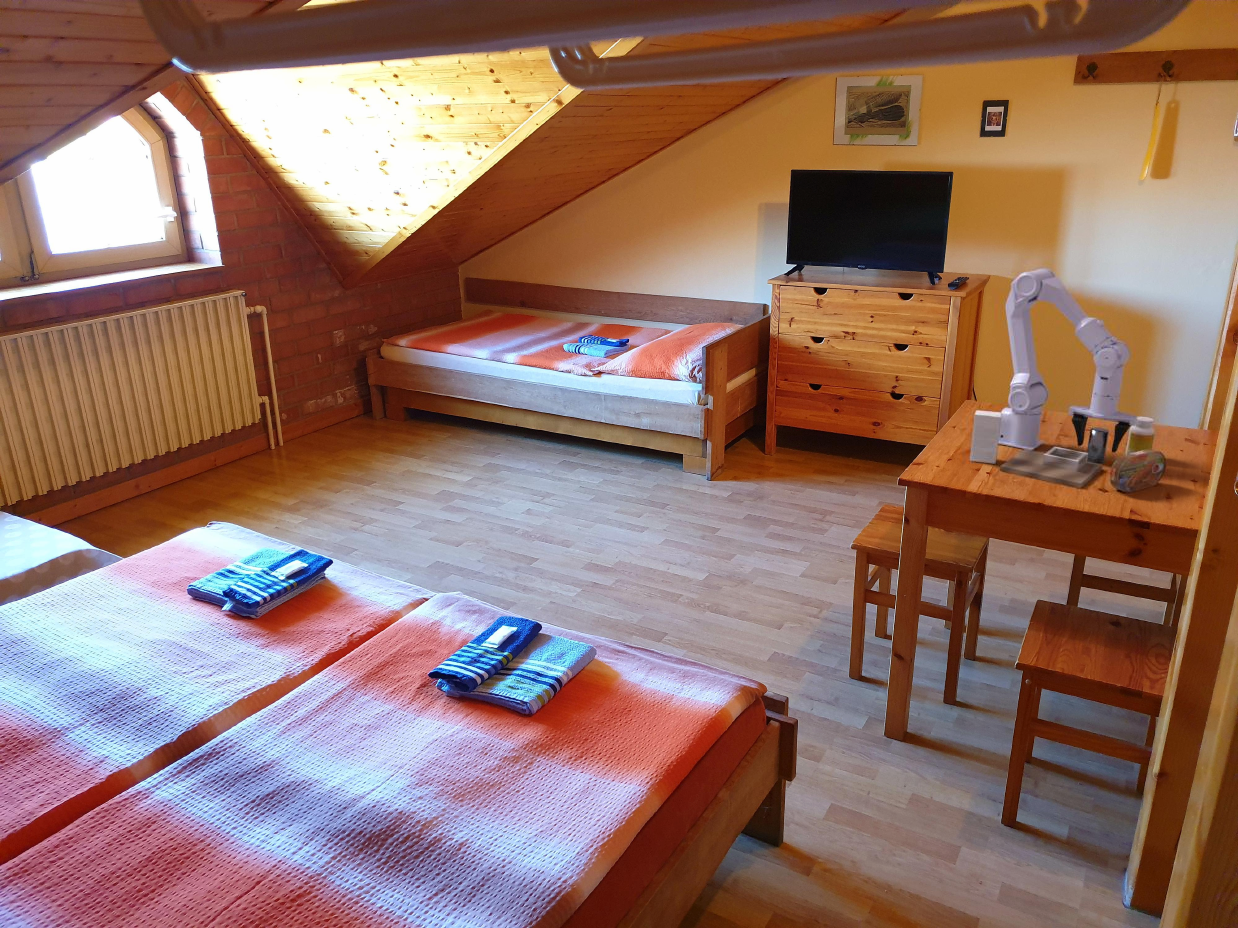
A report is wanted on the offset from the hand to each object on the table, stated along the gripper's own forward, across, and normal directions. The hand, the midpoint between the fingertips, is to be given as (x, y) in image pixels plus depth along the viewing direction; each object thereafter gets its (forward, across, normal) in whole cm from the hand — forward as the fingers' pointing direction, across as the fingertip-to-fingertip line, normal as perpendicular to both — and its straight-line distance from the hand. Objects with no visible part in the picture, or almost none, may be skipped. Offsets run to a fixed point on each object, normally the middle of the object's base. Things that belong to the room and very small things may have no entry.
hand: (1096, 448), depth 221 cm
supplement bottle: (+4, +7, +10) cm, 13 cm away
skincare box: (+3, -21, -16) cm, 27 cm away
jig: (+3, -6, -13) cm, 15 cm away
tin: (+4, +12, -13) cm, 18 cm away
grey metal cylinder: (+3, 0, 0) cm, 3 cm away
